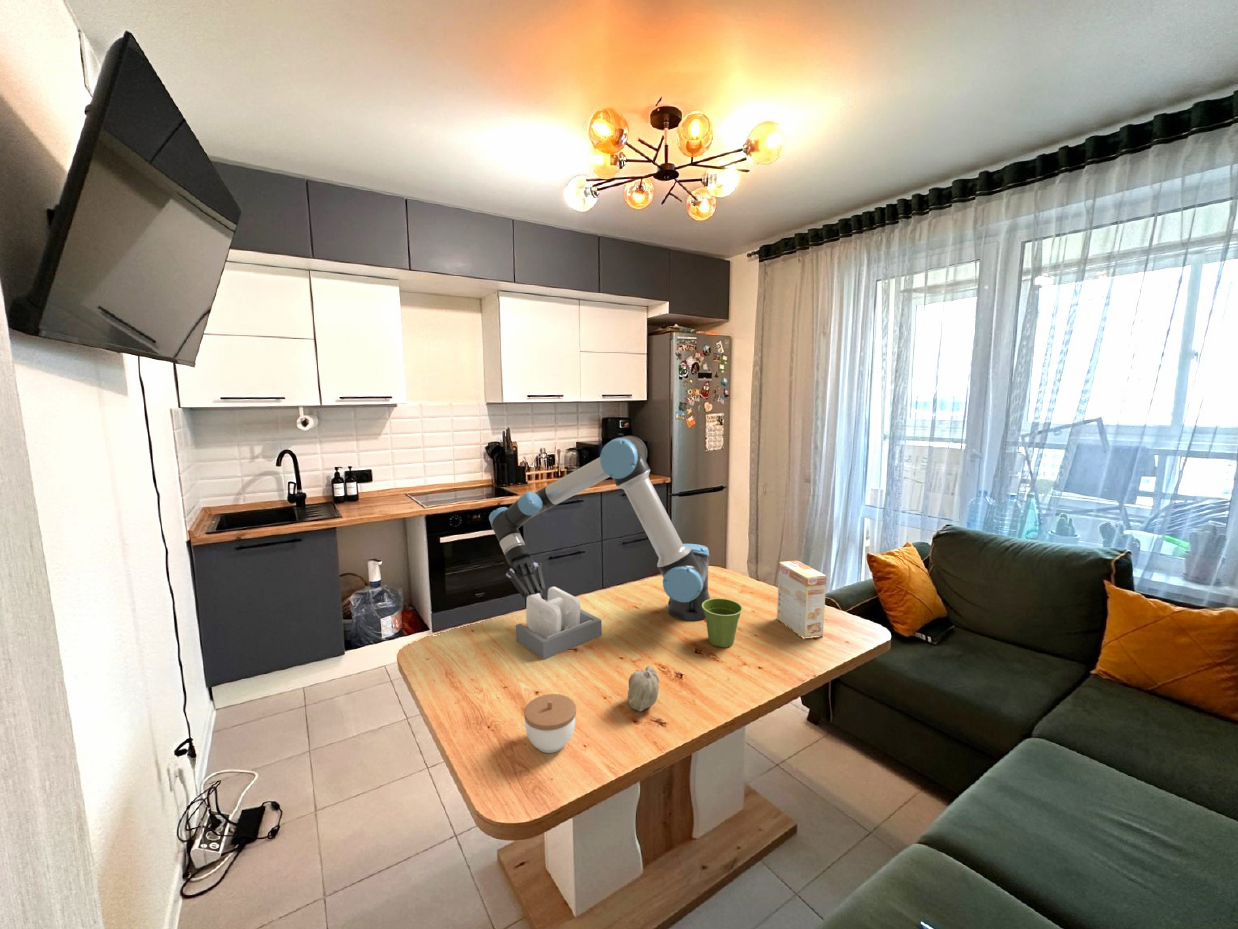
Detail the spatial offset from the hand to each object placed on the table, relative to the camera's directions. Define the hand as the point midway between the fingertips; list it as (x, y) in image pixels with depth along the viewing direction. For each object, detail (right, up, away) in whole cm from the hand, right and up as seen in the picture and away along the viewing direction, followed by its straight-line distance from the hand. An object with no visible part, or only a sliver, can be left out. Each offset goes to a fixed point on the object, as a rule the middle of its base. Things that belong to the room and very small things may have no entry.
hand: (544, 613), depth 154 cm
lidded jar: (+9, -12, -50) cm, 53 cm away
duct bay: (+5, -6, -5) cm, 9 cm away
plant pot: (+54, -6, -8) cm, 55 cm away
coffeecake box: (+80, -5, +2) cm, 80 cm away
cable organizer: (+3, -5, -2) cm, 6 cm away
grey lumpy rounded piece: (+29, -10, -38) cm, 49 cm away
